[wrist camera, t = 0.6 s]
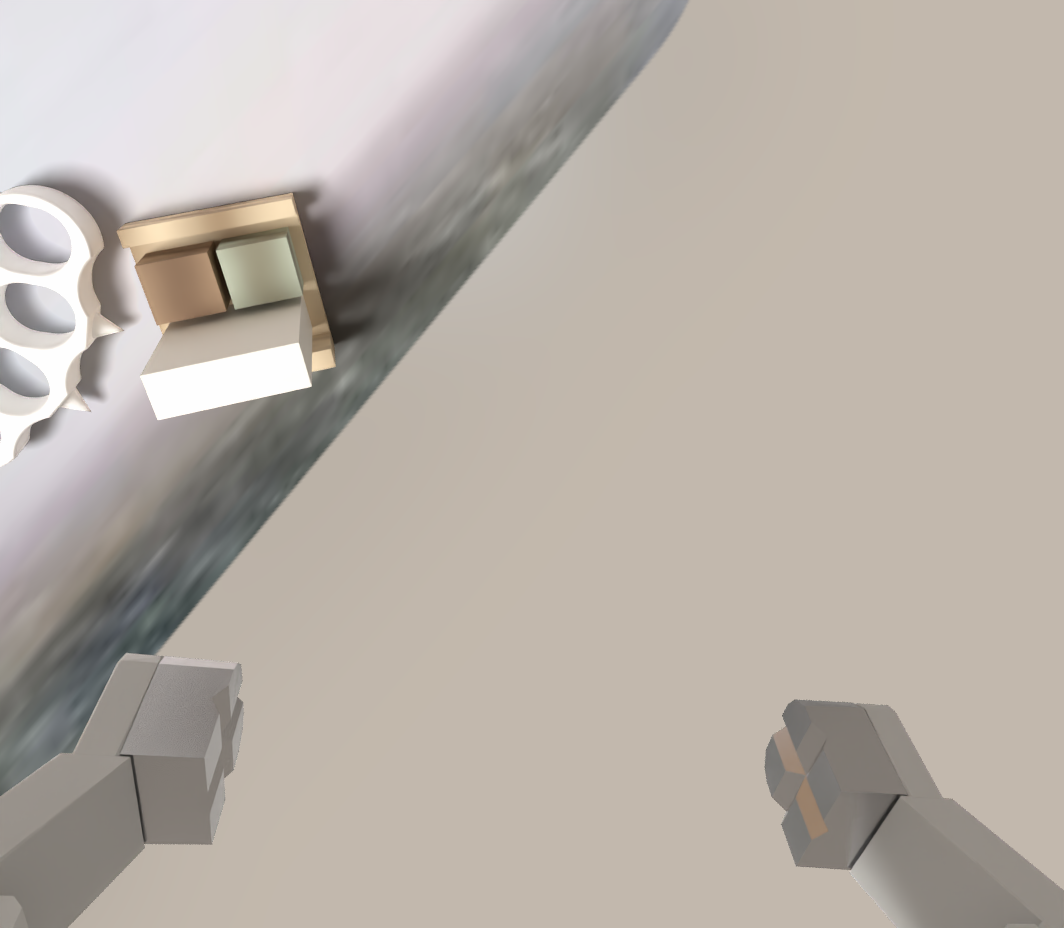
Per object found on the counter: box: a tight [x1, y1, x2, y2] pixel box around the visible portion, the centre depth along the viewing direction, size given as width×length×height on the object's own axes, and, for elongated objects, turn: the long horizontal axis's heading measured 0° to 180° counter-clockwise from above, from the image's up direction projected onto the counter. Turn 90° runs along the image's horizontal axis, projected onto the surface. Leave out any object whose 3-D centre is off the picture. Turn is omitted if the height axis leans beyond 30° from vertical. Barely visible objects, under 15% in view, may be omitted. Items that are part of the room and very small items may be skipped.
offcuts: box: [135, 227, 304, 325], centre depth 48 cm, size 8×4×4 cm, turn 99°
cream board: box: [140, 296, 312, 420], centre depth 47 cm, size 8×2×11 cm, turn 99°
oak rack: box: [117, 193, 336, 372], centre depth 49 cm, size 10×10×4 cm
